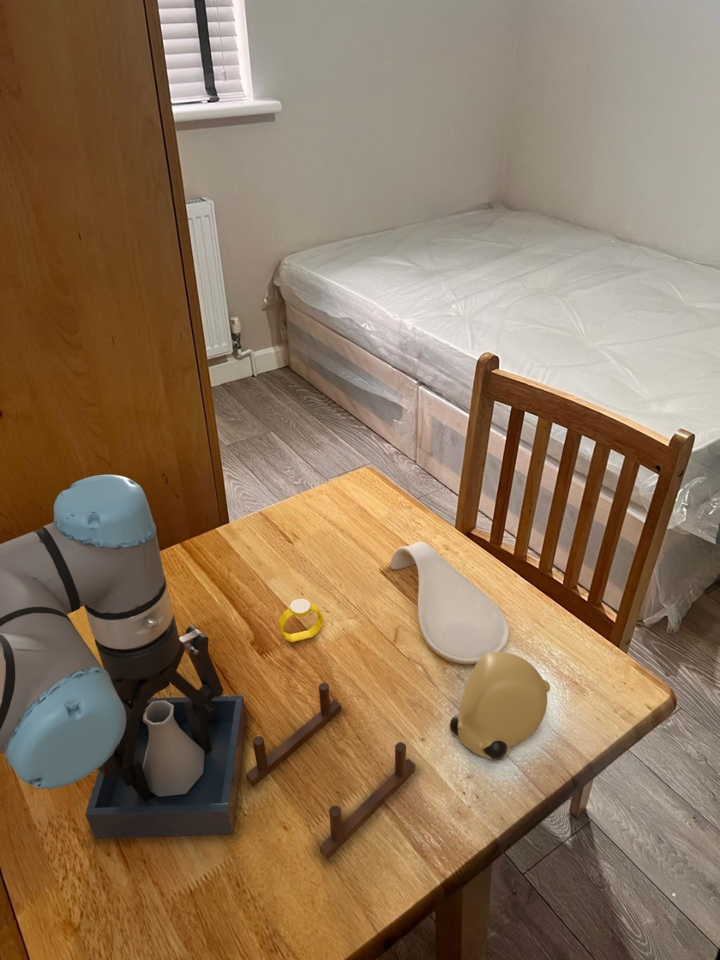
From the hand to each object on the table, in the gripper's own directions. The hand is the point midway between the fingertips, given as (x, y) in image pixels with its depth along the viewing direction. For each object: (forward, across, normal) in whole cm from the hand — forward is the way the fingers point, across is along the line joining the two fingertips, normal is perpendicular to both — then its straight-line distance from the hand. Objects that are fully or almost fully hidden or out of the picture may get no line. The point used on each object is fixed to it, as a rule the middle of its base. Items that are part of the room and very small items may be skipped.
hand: (172, 767), depth 82 cm
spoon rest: (+1, +40, -6) cm, 41 cm away
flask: (+1, 0, 0) cm, 1 cm away
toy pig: (+2, +30, -23) cm, 38 cm away
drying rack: (+2, +12, -13) cm, 18 cm away
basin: (+2, 0, 0) cm, 2 cm away
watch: (+2, +24, +5) cm, 25 cm away
